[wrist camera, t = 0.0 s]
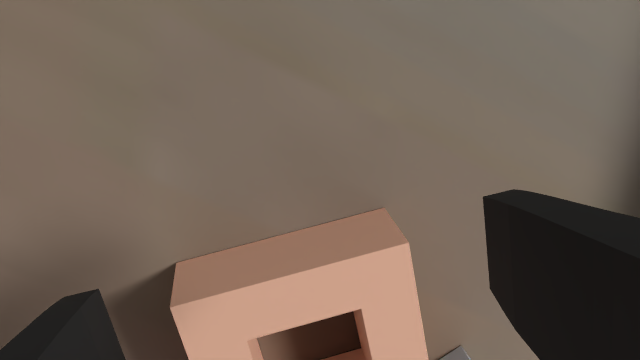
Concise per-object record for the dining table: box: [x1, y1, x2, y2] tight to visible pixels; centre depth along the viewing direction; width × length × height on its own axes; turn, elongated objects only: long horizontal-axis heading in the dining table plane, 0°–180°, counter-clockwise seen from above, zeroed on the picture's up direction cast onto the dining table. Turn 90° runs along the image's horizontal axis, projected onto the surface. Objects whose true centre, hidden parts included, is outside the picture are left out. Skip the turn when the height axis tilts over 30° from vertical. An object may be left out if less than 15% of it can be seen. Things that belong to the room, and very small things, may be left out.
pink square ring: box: [170, 208, 428, 360], centre depth 21 cm, size 8×8×3 cm
